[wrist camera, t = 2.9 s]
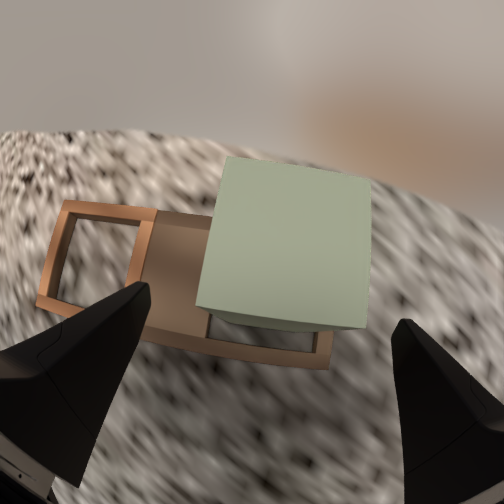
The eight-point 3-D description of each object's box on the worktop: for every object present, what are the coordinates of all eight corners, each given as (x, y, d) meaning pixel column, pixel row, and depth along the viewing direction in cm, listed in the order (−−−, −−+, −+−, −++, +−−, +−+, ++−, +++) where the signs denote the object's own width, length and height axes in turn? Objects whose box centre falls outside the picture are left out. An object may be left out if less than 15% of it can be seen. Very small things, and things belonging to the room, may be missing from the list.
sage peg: (296, 332, 19) (365, 328, 7) (229, 322, 19) (194, 305, 7) (304, 267, 20) (370, 179, 8) (239, 258, 20) (226, 156, 8)
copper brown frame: (323, 368, 18) (329, 370, 16) (45, 307, 19) (35, 305, 17) (337, 241, 20) (343, 235, 19) (72, 206, 21) (64, 199, 20)
